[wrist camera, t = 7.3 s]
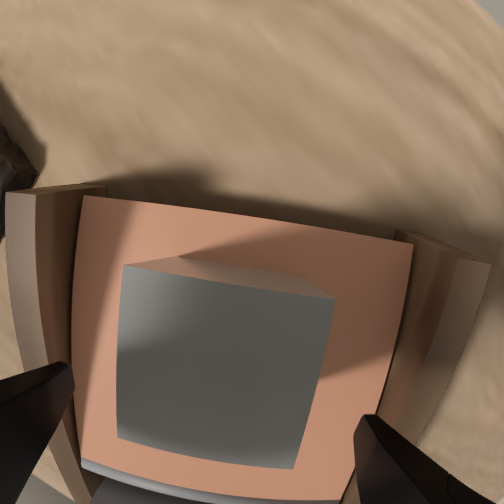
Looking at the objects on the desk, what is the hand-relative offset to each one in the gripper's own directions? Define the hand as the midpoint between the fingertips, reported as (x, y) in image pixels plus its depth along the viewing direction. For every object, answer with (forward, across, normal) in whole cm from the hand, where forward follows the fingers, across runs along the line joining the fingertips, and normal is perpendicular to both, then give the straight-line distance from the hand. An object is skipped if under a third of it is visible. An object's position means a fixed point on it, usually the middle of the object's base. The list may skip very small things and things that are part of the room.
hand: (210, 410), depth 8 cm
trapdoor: (+7, 0, +7) cm, 10 cm away
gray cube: (+6, 0, 0) cm, 6 cm away
